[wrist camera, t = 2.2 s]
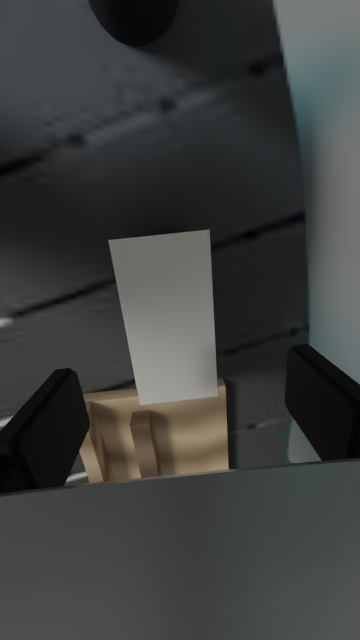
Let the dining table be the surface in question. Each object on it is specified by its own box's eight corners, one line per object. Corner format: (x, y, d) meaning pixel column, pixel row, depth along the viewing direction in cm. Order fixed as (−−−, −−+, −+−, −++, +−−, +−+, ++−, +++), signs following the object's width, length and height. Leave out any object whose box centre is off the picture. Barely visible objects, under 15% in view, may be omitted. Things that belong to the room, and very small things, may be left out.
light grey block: (129, 238, 21) (108, 240, 14) (194, 231, 21) (209, 229, 14) (149, 364, 26) (142, 417, 18) (203, 358, 26) (218, 408, 18)
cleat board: (83, 394, 26) (69, 420, 23) (222, 378, 27) (231, 401, 23) (113, 499, 33) (107, 533, 29) (226, 486, 33) (234, 518, 29)
